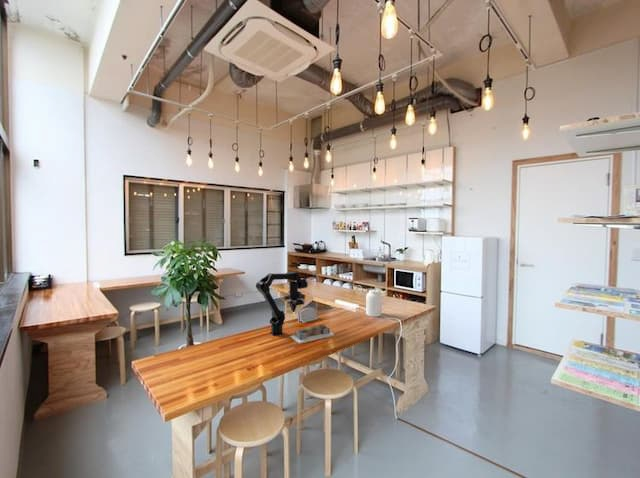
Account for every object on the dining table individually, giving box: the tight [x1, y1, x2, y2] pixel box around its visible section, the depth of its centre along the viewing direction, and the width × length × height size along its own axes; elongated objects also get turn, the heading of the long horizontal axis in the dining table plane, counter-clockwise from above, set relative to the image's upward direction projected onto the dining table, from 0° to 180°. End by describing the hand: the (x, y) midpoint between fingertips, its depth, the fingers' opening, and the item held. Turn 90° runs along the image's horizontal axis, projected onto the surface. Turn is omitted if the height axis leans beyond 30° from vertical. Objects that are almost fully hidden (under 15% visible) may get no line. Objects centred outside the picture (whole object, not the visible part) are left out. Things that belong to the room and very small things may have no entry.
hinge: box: [297, 307, 320, 324], centre depth 232 cm, size 17×5×10 cm, turn 132°
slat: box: [298, 324, 327, 337], centre depth 198 cm, size 18×3×5 cm, turn 120°
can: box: [365, 289, 383, 318], centre depth 246 cm, size 12×12×20 cm
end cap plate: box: [290, 325, 335, 345], centre depth 198 cm, size 26×12×4 cm, turn 123°
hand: (293, 312), depth 211 cm, fingers closed
